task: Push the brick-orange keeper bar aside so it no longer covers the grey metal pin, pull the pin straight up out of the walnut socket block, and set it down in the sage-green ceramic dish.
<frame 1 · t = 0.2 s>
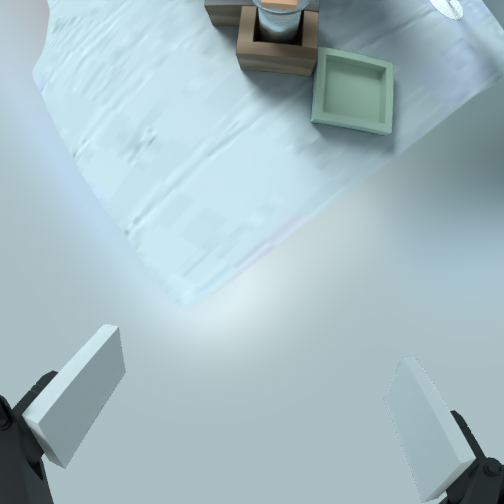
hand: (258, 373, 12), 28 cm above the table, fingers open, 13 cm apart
dish: (350, 93, 33), on the table
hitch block: (278, 43, 32), on the table
wineglass: (445, 2, 26), on the table
pin: (278, 40, 31), point 1 cm above the table, touching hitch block
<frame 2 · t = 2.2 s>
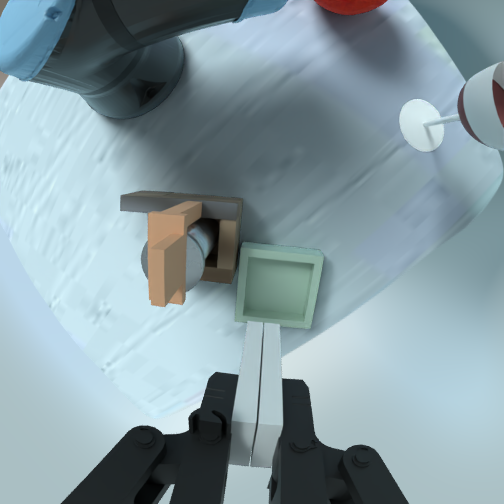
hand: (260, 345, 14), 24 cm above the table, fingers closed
apple: (336, 1, 28), on the table
dish: (277, 282, 39), on the table
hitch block: (205, 230, 38), on the table
keeper: (173, 252, 25), point 13 cm above the table, slide at 0.0 cm
wineglass: (422, 125, 32), on the table
pin: (203, 231, 37), point 1 cm above the table, touching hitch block
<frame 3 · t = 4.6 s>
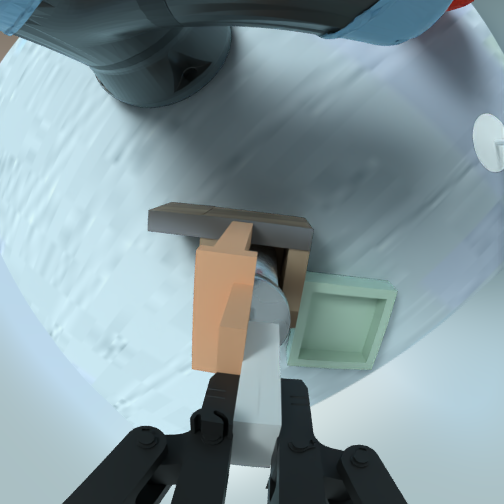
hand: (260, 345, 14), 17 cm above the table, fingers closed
dish: (336, 317, 32), on the table
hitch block: (254, 255, 30), on the table
keeper: (226, 302, 18), point 13 cm above the table, slide at 1.1 cm, touching gripper
wineglass: (491, 142, 25), on the table
pin: (254, 258, 30), point 1 cm above the table, touching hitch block
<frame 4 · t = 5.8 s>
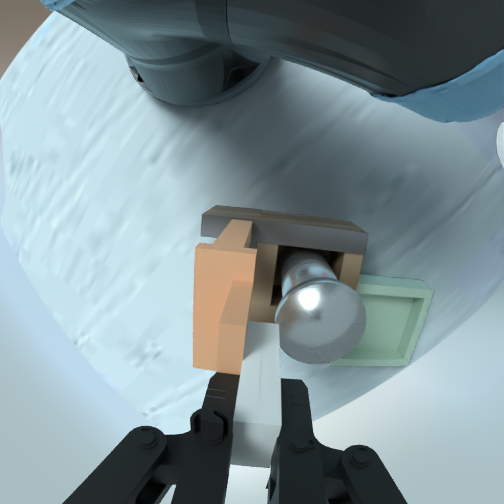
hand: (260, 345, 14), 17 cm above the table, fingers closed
dish: (375, 317, 32), on the table
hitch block: (300, 258, 30), on the table
keeper: (226, 300, 18), point 13 cm above the table, slide at 5.8 cm, touching gripper
pin: (301, 261, 29), point 1 cm above the table, touching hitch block
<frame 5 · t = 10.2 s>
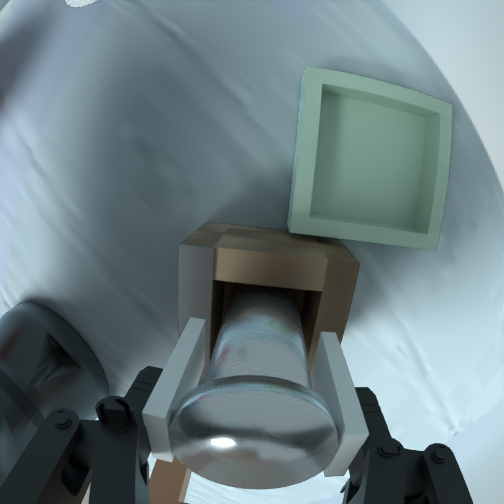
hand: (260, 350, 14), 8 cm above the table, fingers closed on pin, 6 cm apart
dish: (366, 161, 18), on the table
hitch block: (264, 290, 21), on the table
keeper: (226, 499, 10), point 13 cm above the table, slide at 5.9 cm
pin: (264, 295, 20), point 1 cm above the table, touching gripper, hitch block
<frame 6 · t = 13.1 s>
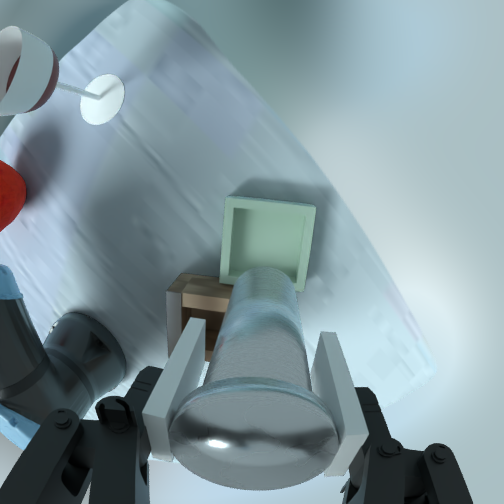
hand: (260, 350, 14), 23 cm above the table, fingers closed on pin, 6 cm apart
apple: (19, 190, 36), on the table
dish: (266, 240, 36), on the table
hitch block: (213, 308, 39), on the table
wineglass: (101, 99, 32), on the table
pin: (263, 296, 20), point 16 cm above the table, touching gripper
when the fingers open (9 cm above the table, at t = 16.2 s): pin drops 2 cm, resting on dish.
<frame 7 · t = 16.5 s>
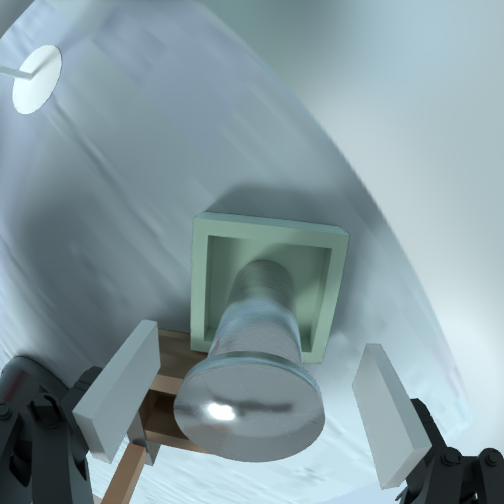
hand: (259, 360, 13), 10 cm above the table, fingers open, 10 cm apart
dish: (264, 282, 23), on the table
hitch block: (188, 372, 26), on the table
wineglass: (36, 78, 19), on the table
pin: (263, 287, 22), point 1 cm above the table, touching dish
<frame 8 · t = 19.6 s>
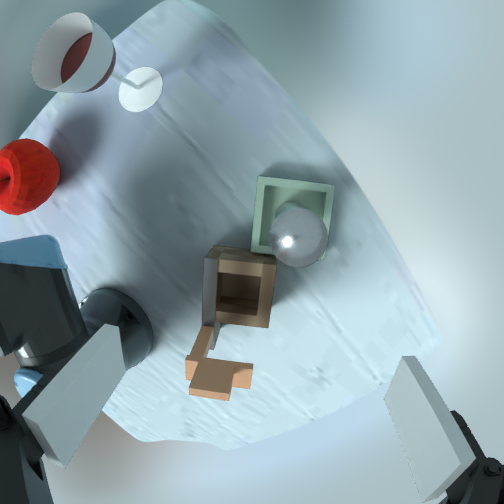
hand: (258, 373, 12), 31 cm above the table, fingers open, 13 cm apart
apple: (51, 172, 41), on the table
dish: (291, 215, 41), on the table
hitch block: (241, 278, 44), on the table
keeper: (221, 363, 33), point 13 cm above the table, slide at 5.9 cm
wineglass: (140, 89, 37), on the table
pin: (290, 216, 40), point 1 cm above the table, touching dish
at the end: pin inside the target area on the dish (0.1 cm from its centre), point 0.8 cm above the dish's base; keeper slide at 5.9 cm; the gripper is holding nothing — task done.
